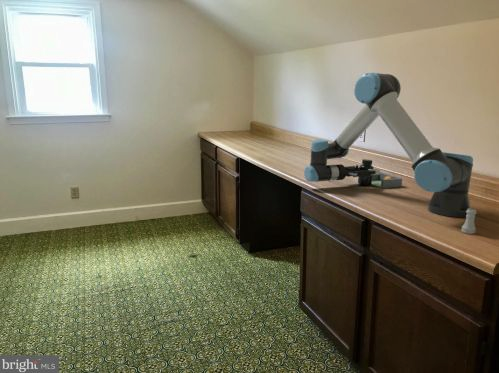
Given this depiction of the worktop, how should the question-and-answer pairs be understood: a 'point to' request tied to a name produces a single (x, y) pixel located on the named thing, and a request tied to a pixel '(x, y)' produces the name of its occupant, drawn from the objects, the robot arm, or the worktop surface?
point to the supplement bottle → (365, 166)
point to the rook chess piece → (469, 222)
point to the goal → (386, 181)
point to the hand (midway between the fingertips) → (374, 170)
